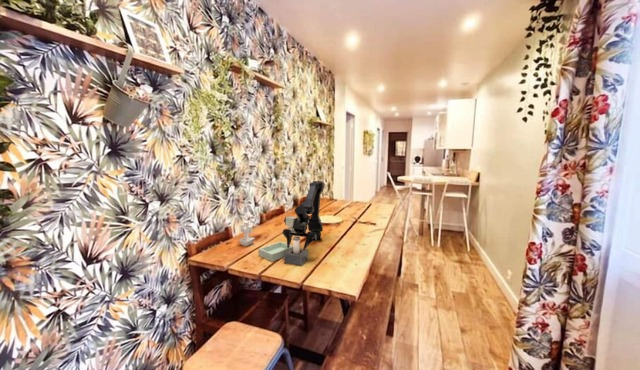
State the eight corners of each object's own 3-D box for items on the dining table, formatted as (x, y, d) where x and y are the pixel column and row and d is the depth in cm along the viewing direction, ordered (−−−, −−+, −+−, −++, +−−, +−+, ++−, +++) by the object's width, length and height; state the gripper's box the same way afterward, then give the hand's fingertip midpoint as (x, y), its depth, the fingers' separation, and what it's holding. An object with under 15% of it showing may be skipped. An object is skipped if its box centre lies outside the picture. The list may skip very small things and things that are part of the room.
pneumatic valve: (295, 234, 183) (295, 217, 181) (283, 231, 190) (283, 215, 188) (300, 232, 188) (300, 216, 186) (289, 229, 194) (288, 213, 193)
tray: (280, 247, 158) (280, 241, 158) (293, 252, 150) (293, 246, 150) (258, 255, 146) (258, 248, 146) (272, 261, 139) (271, 254, 138)
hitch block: (291, 255, 146) (291, 247, 146) (308, 258, 144) (308, 249, 143) (284, 263, 137) (284, 254, 136) (301, 265, 134) (301, 256, 133)
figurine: (256, 242, 166) (255, 220, 164) (246, 247, 157) (246, 224, 155) (247, 241, 169) (246, 218, 167) (237, 246, 160) (236, 222, 158)
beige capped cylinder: (298, 258, 143) (298, 236, 141) (300, 261, 139) (300, 238, 138) (292, 259, 141) (292, 237, 139) (294, 262, 138) (294, 239, 136)
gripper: (283, 214, 144) (274, 240, 135) (315, 217, 138) (308, 244, 129) (289, 224, 152) (281, 249, 143) (319, 227, 147) (313, 253, 138)
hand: (295, 249), depth 138 cm, fingers open, 9 cm apart
